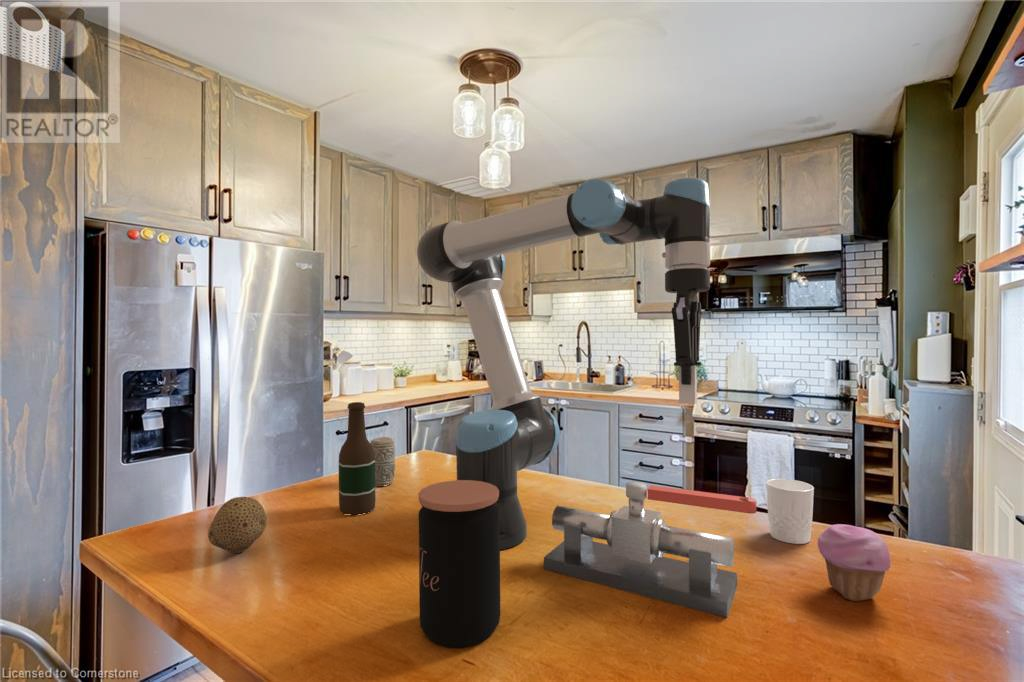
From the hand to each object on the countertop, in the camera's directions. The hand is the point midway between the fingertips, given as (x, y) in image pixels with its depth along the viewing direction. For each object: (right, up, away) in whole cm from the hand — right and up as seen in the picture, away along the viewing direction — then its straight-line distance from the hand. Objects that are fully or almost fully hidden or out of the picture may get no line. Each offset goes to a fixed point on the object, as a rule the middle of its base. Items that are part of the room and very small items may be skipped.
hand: (687, 402), depth 88 cm
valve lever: (-5, -14, -13) cm, 19 cm away
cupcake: (+19, -27, -15) cm, 36 cm away
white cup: (+21, -26, +6) cm, 34 cm away
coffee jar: (-38, -27, -22) cm, 52 cm away
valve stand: (-11, -27, -9) cm, 30 cm away
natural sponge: (-80, -27, +1) cm, 85 cm away
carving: (-65, -27, +43) cm, 82 cm away
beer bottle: (-66, -27, +23) cm, 75 cm away
